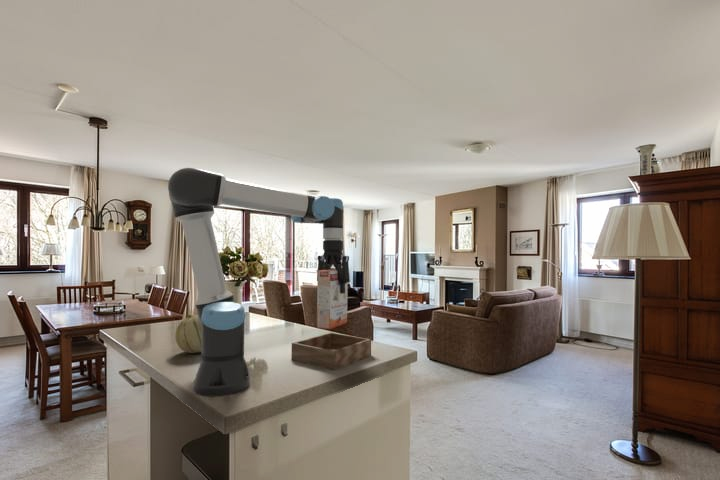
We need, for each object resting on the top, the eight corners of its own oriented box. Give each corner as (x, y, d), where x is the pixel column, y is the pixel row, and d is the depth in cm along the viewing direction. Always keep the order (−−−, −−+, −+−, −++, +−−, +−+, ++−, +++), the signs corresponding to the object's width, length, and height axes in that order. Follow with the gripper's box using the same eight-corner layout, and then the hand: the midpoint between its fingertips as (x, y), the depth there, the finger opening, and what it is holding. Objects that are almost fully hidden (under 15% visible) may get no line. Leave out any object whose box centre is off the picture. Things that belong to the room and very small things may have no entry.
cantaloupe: (224, 350, 142) (225, 312, 143) (192, 360, 129) (193, 318, 130) (199, 345, 149) (199, 309, 149) (166, 354, 136) (167, 314, 136)
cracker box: (330, 330, 126) (330, 270, 127) (316, 328, 128) (316, 270, 129) (348, 323, 139) (348, 268, 139) (334, 321, 141) (334, 268, 142)
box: (334, 370, 118) (334, 351, 118) (291, 359, 130) (291, 343, 130) (371, 355, 136) (371, 339, 136) (330, 347, 148) (330, 332, 148)
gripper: (359, 239, 132) (359, 302, 131) (320, 240, 143) (320, 298, 142) (347, 239, 126) (347, 304, 125) (307, 240, 137) (306, 300, 136)
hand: (332, 301), depth 134 cm, fingers closed on cracker box, 6 cm apart
